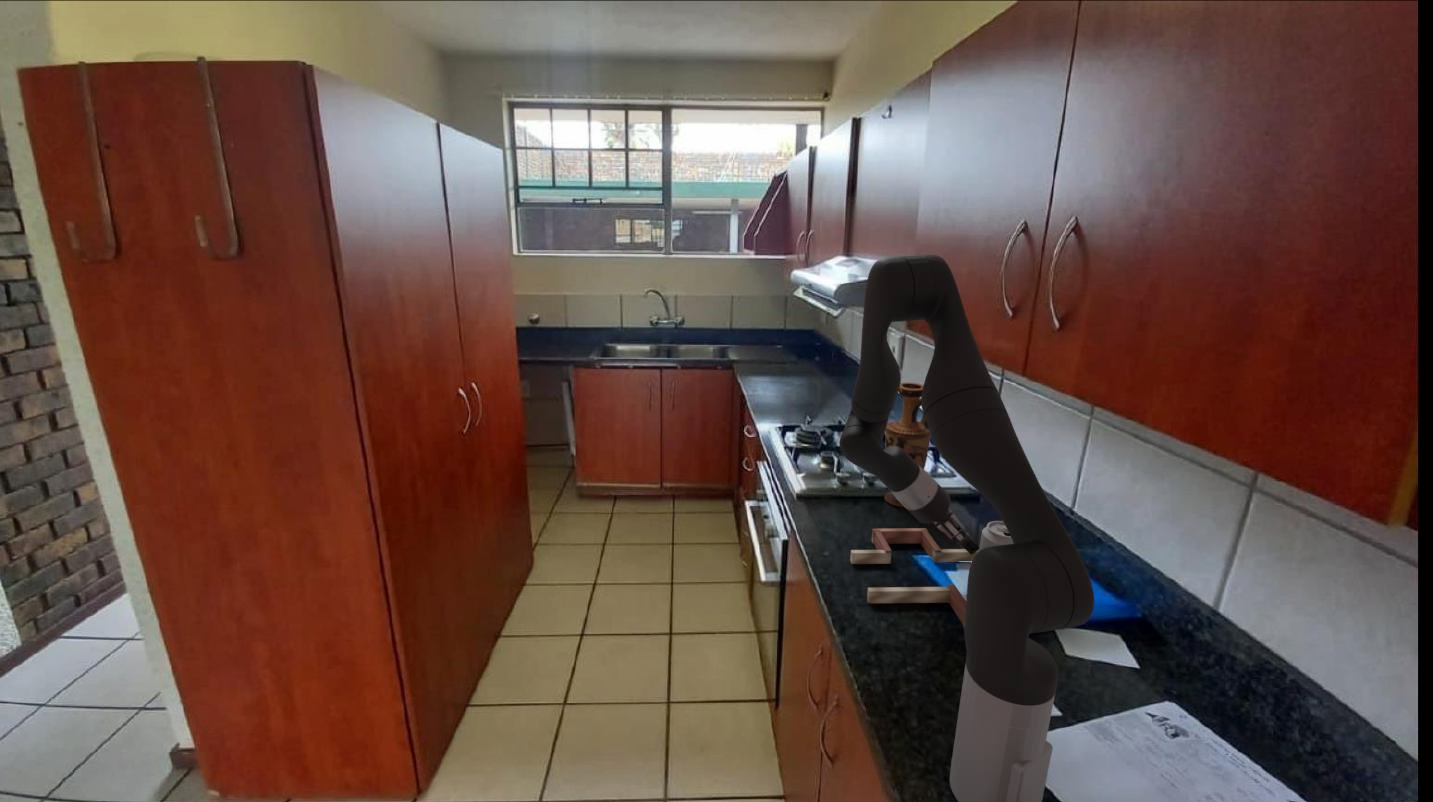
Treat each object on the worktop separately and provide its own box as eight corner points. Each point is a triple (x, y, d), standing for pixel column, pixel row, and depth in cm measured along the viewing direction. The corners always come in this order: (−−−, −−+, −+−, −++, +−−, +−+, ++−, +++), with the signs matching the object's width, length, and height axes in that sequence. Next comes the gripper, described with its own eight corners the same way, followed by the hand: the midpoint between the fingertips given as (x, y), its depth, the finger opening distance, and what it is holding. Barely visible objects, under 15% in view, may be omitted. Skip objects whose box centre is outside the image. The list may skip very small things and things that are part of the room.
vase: (883, 509, 144) (894, 391, 135) (875, 490, 154) (884, 380, 146) (929, 511, 143) (942, 392, 134) (917, 492, 153) (929, 380, 145)
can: (1004, 600, 108) (1015, 542, 105) (966, 580, 114) (975, 525, 111) (1023, 585, 113) (1034, 530, 109) (986, 567, 119) (995, 514, 115)
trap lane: (881, 632, 100) (882, 617, 99) (841, 541, 129) (842, 528, 128) (1070, 630, 100) (1073, 615, 100) (988, 539, 130) (990, 527, 129)
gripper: (949, 495, 103) (1007, 556, 107) (921, 465, 116) (974, 520, 120) (916, 523, 104) (974, 581, 108) (892, 490, 117) (945, 544, 121)
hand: (974, 549), depth 114 cm, fingers closed
